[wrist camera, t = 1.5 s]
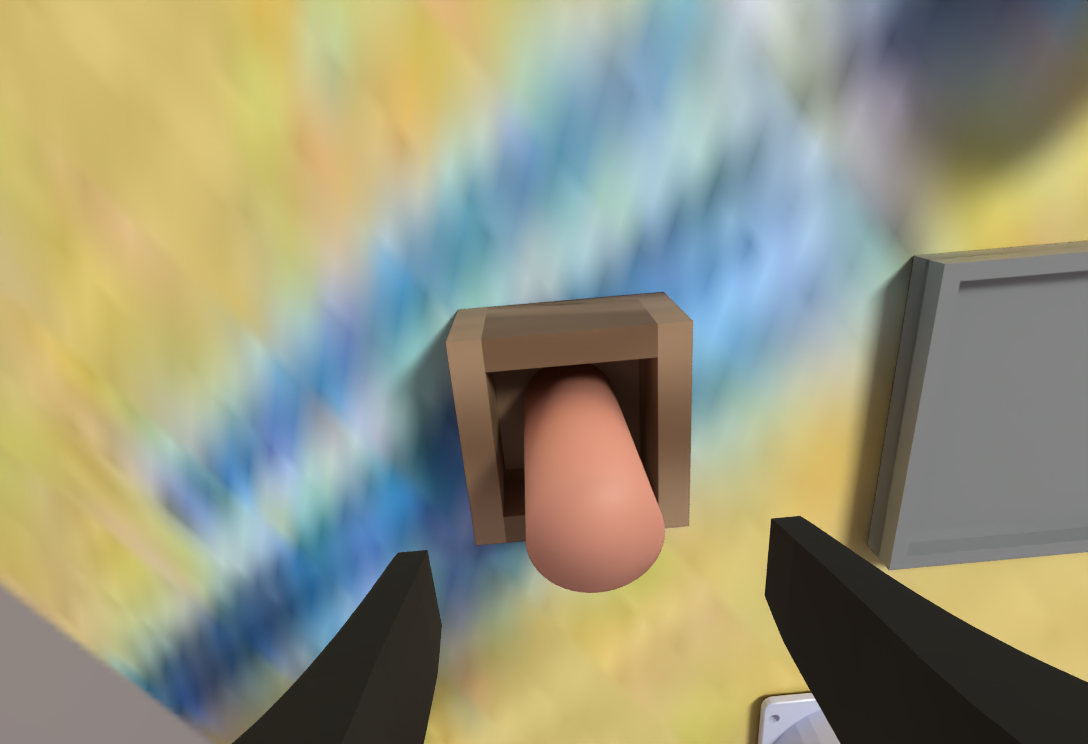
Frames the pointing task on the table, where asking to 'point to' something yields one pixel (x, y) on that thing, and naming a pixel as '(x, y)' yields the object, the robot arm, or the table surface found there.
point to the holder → (557, 340)
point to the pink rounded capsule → (585, 484)
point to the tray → (988, 411)
